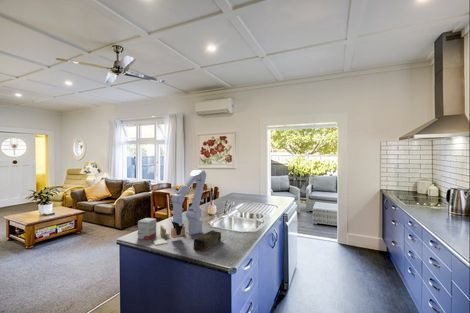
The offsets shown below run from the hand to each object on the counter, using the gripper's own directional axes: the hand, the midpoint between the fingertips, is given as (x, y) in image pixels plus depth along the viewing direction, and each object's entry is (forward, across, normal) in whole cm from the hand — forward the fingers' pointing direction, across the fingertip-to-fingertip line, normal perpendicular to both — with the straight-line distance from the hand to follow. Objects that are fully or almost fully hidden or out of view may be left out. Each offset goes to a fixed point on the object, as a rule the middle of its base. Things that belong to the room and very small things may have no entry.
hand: (177, 233), depth 144 cm
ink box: (+4, -14, -16) cm, 22 cm away
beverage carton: (+4, +17, +14) cm, 22 cm away
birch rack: (+4, -11, 0) cm, 12 cm away
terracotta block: (+2, 0, 0) cm, 2 cm away
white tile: (+4, -1, -11) cm, 11 cm away
